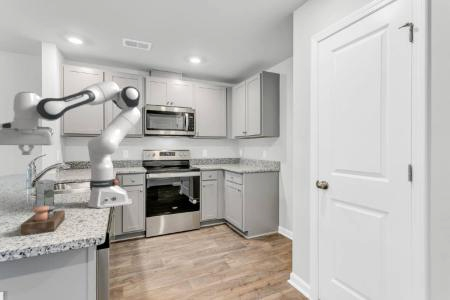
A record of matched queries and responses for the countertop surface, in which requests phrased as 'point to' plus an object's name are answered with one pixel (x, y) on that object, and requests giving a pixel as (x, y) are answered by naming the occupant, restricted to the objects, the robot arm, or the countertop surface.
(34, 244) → the countertop surface
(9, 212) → the countertop surface
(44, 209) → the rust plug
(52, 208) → the grey plug
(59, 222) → the wooden frame holder
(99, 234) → the countertop surface
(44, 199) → the syrup box
